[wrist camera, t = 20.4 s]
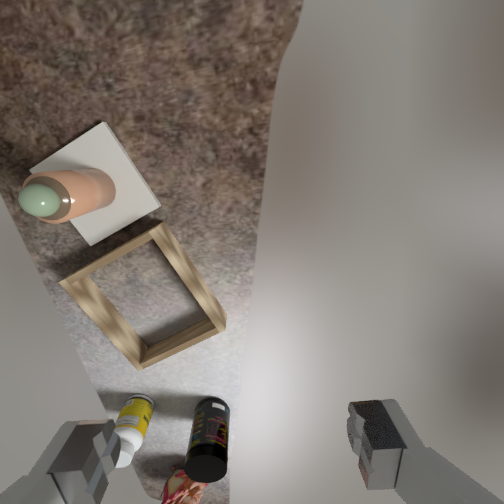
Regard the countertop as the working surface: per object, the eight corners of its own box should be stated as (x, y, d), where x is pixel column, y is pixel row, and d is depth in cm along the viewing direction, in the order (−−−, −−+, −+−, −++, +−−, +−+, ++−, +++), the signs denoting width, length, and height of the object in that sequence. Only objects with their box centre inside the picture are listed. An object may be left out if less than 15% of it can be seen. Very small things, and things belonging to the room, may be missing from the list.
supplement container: (191, 417, 52) (178, 478, 42) (200, 392, 50) (190, 450, 40) (224, 424, 53) (219, 486, 43) (235, 400, 51) (233, 459, 41)
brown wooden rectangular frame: (76, 270, 41) (58, 282, 37) (163, 221, 38) (154, 228, 35) (146, 353, 46) (138, 371, 42) (226, 314, 44) (225, 329, 40)
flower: (156, 489, 56) (170, 533, 51) (148, 472, 52) (163, 518, 46) (198, 458, 61) (215, 495, 56) (194, 439, 57) (213, 477, 51)
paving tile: (33, 169, 35) (29, 169, 35) (106, 122, 34) (103, 121, 33) (93, 244, 39) (90, 246, 38) (161, 205, 38) (159, 206, 37)
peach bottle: (67, 180, 35) (-16, 192, 24) (98, 160, 34) (27, 162, 23) (93, 214, 37) (27, 240, 26) (123, 195, 36) (68, 213, 25)
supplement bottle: (153, 416, 51) (133, 473, 42) (124, 411, 51) (98, 468, 42) (157, 395, 50) (137, 450, 40) (127, 390, 49) (100, 445, 40)
